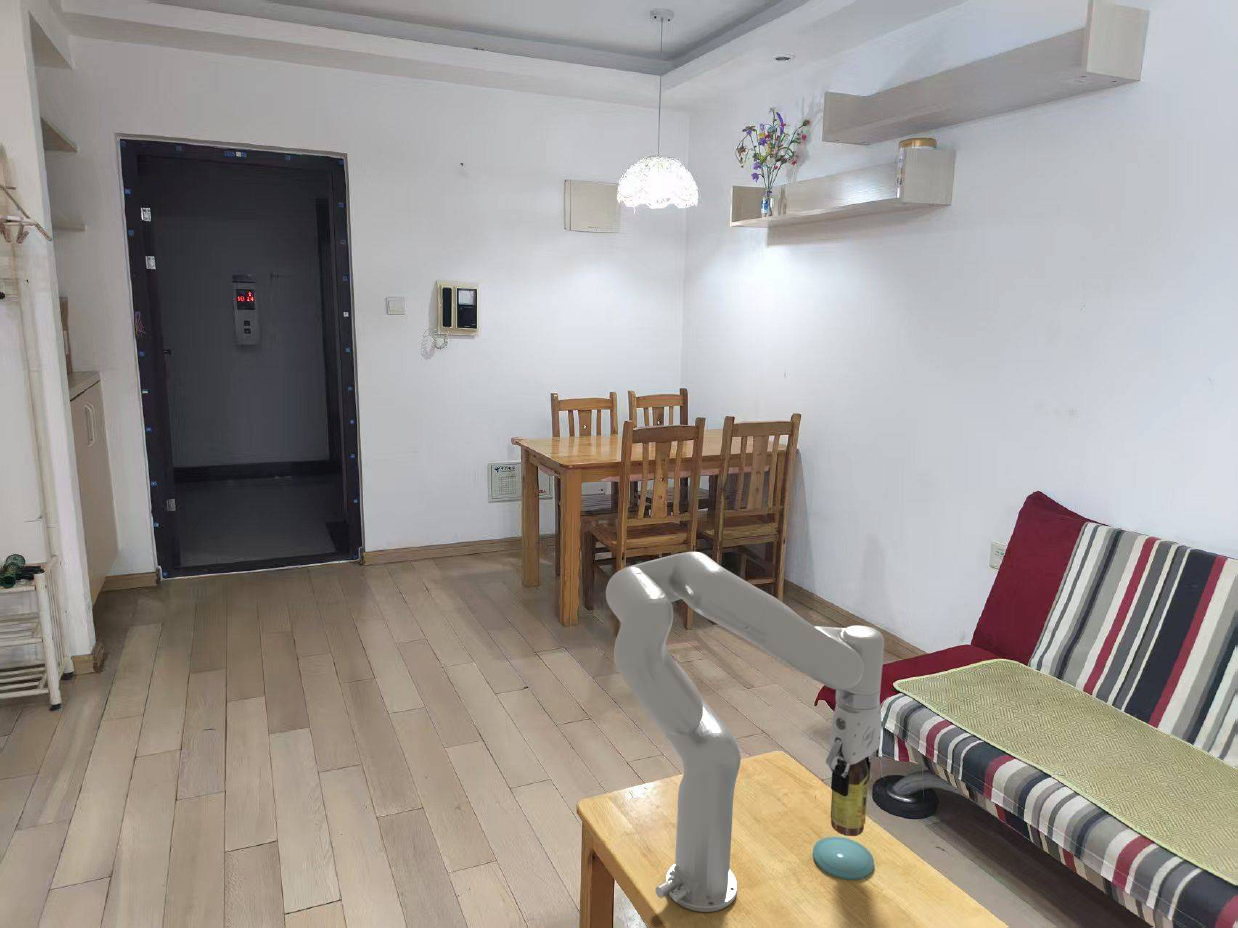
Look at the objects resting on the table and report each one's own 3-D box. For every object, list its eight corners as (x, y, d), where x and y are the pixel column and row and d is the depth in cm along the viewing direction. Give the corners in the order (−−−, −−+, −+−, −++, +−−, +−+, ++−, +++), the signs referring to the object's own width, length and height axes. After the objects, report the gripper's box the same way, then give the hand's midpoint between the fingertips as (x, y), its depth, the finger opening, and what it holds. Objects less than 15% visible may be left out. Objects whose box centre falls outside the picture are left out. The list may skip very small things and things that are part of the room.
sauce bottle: (868, 838, 146) (877, 739, 143) (834, 837, 147) (841, 738, 143) (858, 816, 153) (866, 720, 149) (825, 815, 153) (832, 719, 149)
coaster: (852, 888, 143) (852, 884, 143) (800, 856, 151) (801, 852, 151) (885, 862, 151) (885, 857, 150) (834, 832, 159) (834, 828, 158)
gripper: (848, 718, 136) (840, 813, 140) (901, 688, 148) (893, 777, 151) (811, 702, 142) (804, 794, 145) (865, 674, 153) (858, 760, 157)
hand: (850, 784), depth 148 cm, fingers closed on sauce bottle, 6 cm apart
